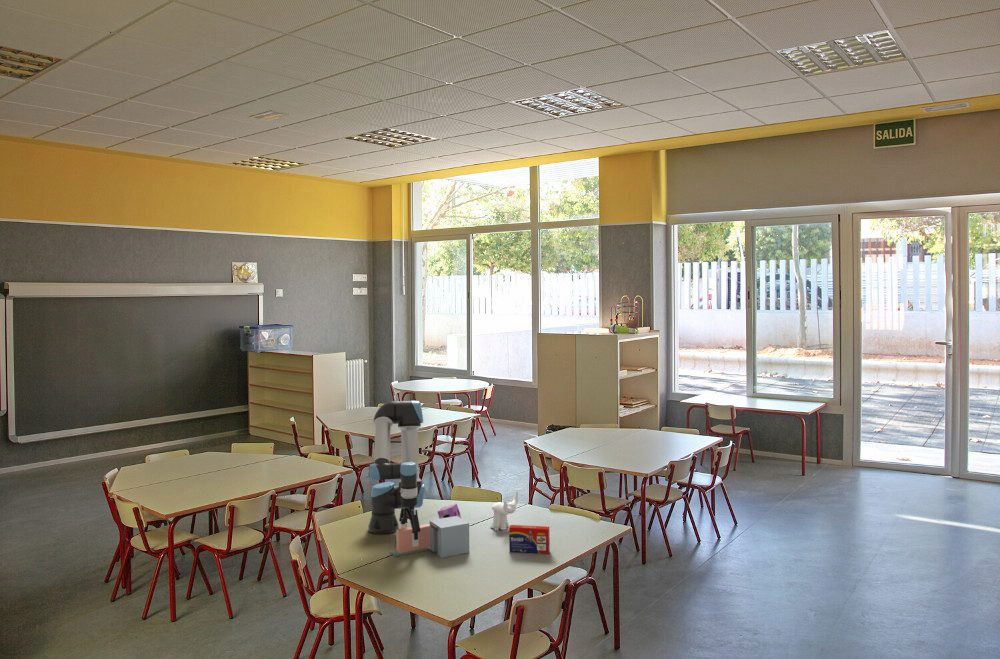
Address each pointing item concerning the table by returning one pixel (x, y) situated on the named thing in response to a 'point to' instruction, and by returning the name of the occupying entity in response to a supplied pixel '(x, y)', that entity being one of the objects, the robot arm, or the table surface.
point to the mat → (407, 552)
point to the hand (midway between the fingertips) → (409, 542)
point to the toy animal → (503, 513)
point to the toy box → (529, 539)
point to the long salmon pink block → (406, 538)
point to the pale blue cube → (449, 536)
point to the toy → (449, 511)
